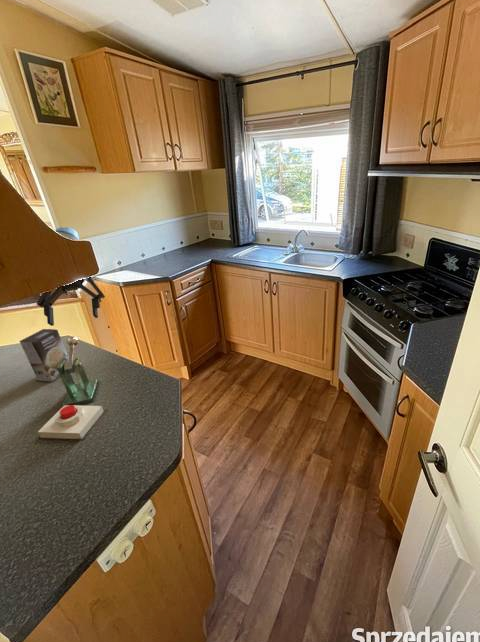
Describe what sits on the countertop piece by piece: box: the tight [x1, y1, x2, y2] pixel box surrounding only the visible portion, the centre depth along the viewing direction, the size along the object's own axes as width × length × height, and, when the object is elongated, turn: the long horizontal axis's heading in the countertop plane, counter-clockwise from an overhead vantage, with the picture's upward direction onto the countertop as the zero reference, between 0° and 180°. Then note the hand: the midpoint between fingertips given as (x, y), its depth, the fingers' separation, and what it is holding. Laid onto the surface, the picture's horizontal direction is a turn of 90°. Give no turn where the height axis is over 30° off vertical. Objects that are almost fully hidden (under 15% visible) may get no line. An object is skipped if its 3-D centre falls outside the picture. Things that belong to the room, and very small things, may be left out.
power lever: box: [64, 336, 80, 374], centre depth 93 cm, size 13×3×3 cm, turn 20°
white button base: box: [37, 404, 105, 440], centre depth 82 cm, size 12×10×4 cm
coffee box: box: [19, 328, 69, 382], centre depth 102 cm, size 9×6×16 cm
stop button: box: [60, 405, 77, 419], centre depth 81 cm, size 4×4×2 cm
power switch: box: [57, 356, 99, 407], centre depth 91 cm, size 10×8×13 cm
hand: (73, 320), depth 99 cm, fingers open, 13 cm apart
